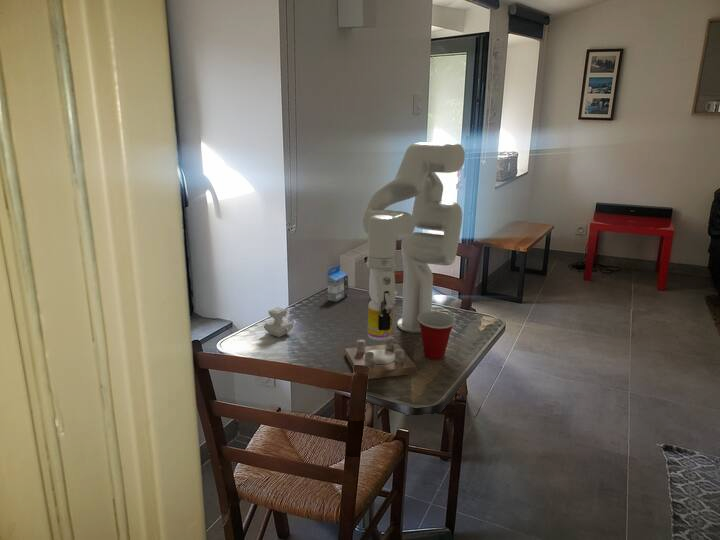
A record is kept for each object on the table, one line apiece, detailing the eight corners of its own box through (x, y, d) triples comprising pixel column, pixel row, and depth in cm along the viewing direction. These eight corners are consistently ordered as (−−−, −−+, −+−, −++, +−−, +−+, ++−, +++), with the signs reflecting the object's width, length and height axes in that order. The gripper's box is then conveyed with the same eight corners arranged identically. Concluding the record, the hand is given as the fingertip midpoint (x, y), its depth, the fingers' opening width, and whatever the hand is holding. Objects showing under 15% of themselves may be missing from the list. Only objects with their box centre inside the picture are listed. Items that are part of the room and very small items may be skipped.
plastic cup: (427, 367, 149) (429, 326, 146) (409, 351, 159) (410, 313, 156) (460, 360, 153) (463, 321, 150) (440, 346, 163) (442, 309, 160)
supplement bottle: (384, 343, 144) (385, 298, 141) (363, 338, 147) (363, 293, 144) (396, 335, 150) (397, 291, 146) (375, 330, 153) (376, 287, 150)
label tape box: (336, 302, 201) (336, 270, 197) (327, 300, 203) (326, 269, 199) (348, 295, 208) (348, 265, 205) (339, 294, 210) (339, 263, 207)
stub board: (397, 349, 160) (397, 332, 159) (416, 373, 146) (417, 354, 144) (345, 354, 156) (345, 337, 155) (359, 380, 142) (359, 361, 140)
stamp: (296, 334, 171) (295, 309, 168) (281, 341, 166) (280, 315, 163) (276, 327, 176) (275, 303, 174) (261, 334, 171) (260, 309, 169)
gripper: (405, 269, 136) (403, 335, 140) (385, 253, 152) (383, 313, 157) (377, 271, 134) (376, 337, 139) (359, 254, 150) (358, 315, 155)
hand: (380, 324), depth 148 cm, fingers closed on supplement bottle, 6 cm apart
